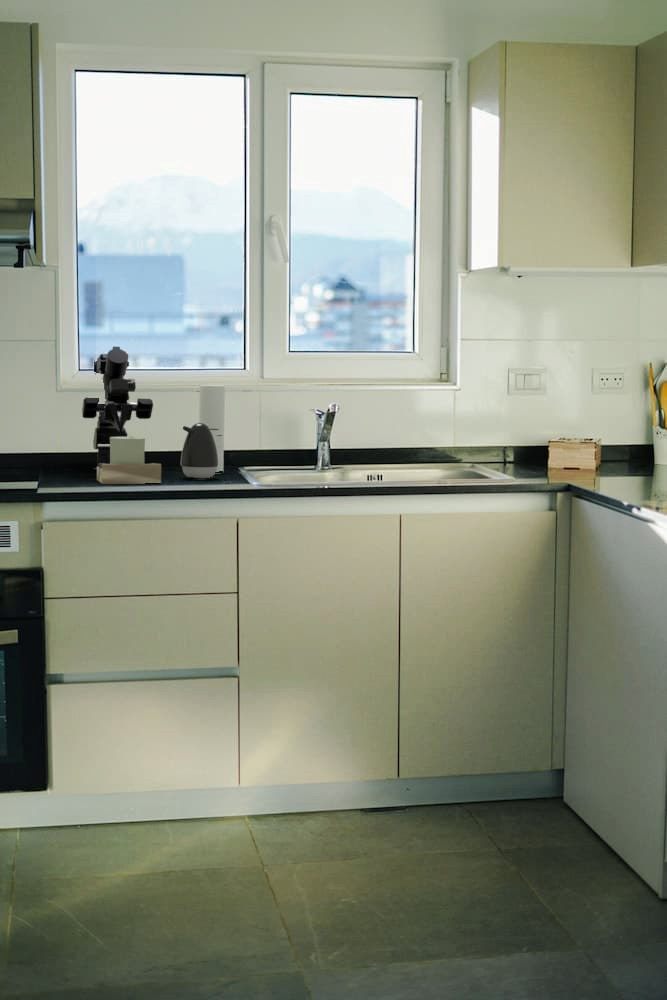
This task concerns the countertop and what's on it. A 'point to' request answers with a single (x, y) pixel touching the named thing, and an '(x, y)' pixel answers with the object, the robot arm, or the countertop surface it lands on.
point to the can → (127, 450)
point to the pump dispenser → (199, 452)
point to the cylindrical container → (213, 416)
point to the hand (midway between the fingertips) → (120, 430)
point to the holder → (129, 473)
